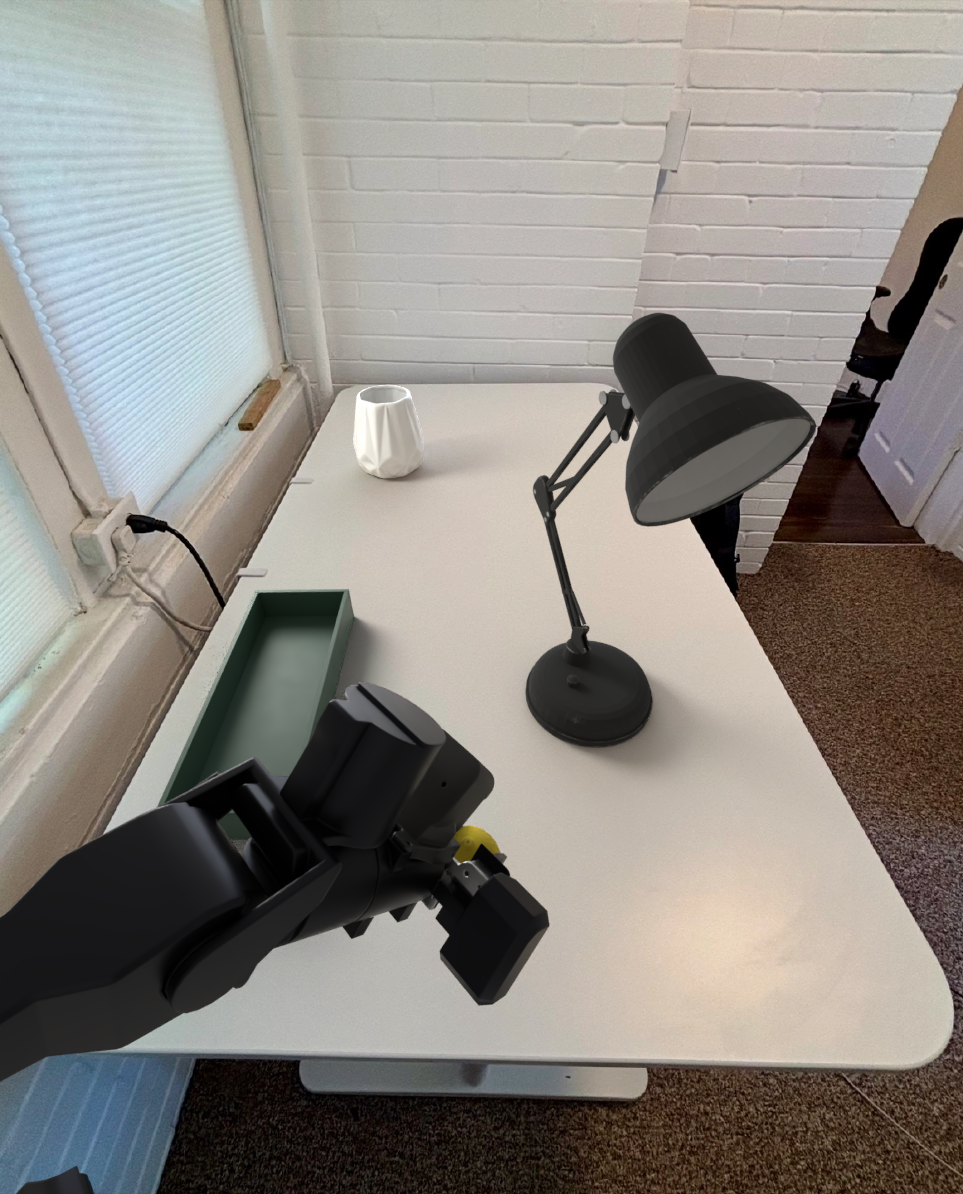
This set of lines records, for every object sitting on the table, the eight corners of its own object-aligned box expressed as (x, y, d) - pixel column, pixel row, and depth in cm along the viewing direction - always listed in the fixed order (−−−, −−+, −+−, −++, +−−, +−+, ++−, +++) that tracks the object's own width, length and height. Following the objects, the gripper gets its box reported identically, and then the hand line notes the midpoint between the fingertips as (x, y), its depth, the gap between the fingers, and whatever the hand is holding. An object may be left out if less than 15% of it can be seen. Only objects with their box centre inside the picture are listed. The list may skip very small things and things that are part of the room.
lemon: (479, 938, 46) (479, 892, 41) (422, 900, 49) (416, 852, 44) (513, 879, 50) (517, 830, 45) (459, 846, 52) (457, 795, 47)
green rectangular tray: (300, 838, 60) (290, 812, 57) (171, 840, 60) (153, 814, 57) (354, 615, 86) (348, 588, 83) (263, 616, 86) (255, 589, 83)
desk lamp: (677, 824, 61) (850, 395, 32) (453, 740, 69) (429, 338, 40) (710, 666, 78) (842, 293, 49) (527, 613, 86) (547, 267, 57)
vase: (358, 486, 115) (346, 411, 106) (355, 454, 126) (345, 383, 116) (430, 479, 117) (424, 405, 108) (421, 448, 128) (416, 378, 118)
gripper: (538, 868, 27) (635, 834, 40) (319, 660, 38) (453, 686, 51) (417, 1061, 28) (551, 967, 41) (235, 805, 38) (388, 795, 51)
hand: (480, 839), depth 46 cm, fingers closed on lemon, 4 cm apart
